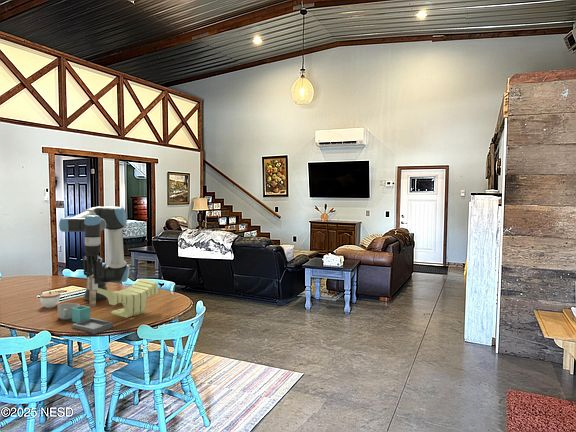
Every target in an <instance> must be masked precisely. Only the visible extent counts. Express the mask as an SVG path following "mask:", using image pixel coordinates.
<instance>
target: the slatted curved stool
mask: <svg viewBox="0 0 576 432" xmlns="http://www.w3.org/2000/svg"><path fill="white" fill-rule="evenodd" d="M97 293H100V294H102V295H104V296H106V297H107V298H106V299H107V300H108V303H109V305H112V306H115V305H116V306H117V304H122V305H123V307H122V308H118V309H114V310H112V311H111V312H110V313H111V314H112V315H114V316H115V315H116V316H119V317H123V318H131V317H134V316H138V315H142V314H145V311H146V304H147V299H148V298H149V297H151V295H158V294H159V285H158V283H157V282H156V281H155V280H149V279H145V278H140V279H139V280H138V281H135V283H134V284H131V285H130V286H128V287H127V288H124V289H120V290H114V291H113V290H112V291H111V290H108V289H107V290H104V289H100V288H98V289H97Z"/></svg>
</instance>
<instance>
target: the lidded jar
mask: <svg viewBox="0 0 576 432" xmlns="http://www.w3.org/2000/svg"><path fill="white" fill-rule="evenodd" d="M60 298H61V293H60V292H58V291H49V292H44V293H41V294H40V295H39V300H40V301H39V302H40V304H41V305H42V306H43V307H44V308H46V309H50V308H55V307H57V306H58V305H59V303H60Z"/></svg>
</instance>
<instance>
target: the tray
mask: <svg viewBox="0 0 576 432" xmlns="http://www.w3.org/2000/svg"><path fill="white" fill-rule="evenodd" d="M71 327H72V329H77V330H81V331H84V332H88V333H89V334H91V335H96V334H98V333H101V332H104V331H107V330H110V329H113V328H114V322H113V321H108V320H103V319H99V318H95V317H90V319H87V320H84V321H81V322H78V323H77V322H74V323H72V324H71Z"/></svg>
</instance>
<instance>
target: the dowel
mask: <svg viewBox="0 0 576 432" xmlns="http://www.w3.org/2000/svg"><path fill="white" fill-rule="evenodd" d="M92 277H94V276H93V275H90V276H89V301H88V302H89V307H96V305H97V300H96V290H92Z"/></svg>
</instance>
